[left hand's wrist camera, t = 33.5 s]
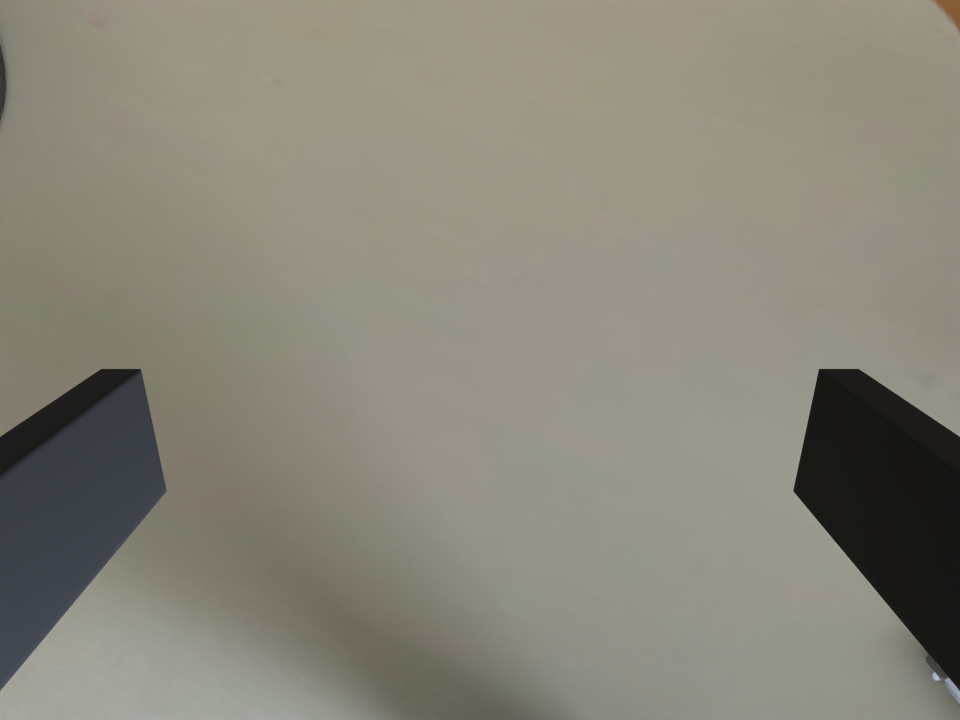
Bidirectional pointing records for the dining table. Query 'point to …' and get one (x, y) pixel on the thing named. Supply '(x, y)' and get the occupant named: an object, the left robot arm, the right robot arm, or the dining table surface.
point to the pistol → (943, 678)
